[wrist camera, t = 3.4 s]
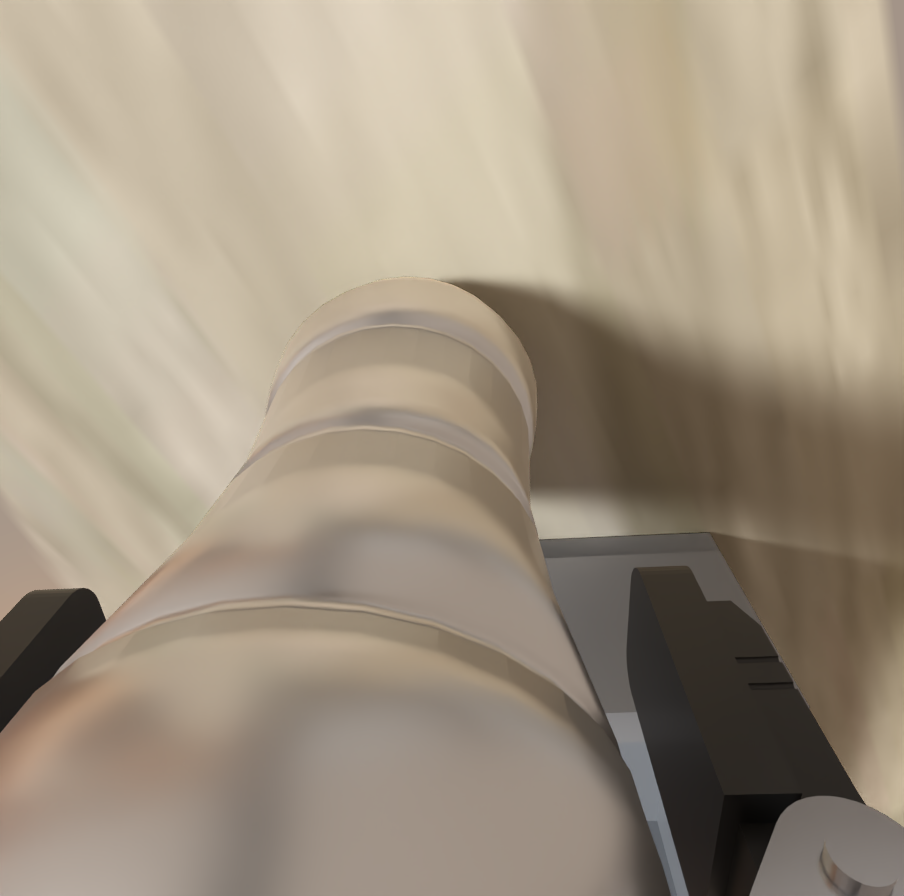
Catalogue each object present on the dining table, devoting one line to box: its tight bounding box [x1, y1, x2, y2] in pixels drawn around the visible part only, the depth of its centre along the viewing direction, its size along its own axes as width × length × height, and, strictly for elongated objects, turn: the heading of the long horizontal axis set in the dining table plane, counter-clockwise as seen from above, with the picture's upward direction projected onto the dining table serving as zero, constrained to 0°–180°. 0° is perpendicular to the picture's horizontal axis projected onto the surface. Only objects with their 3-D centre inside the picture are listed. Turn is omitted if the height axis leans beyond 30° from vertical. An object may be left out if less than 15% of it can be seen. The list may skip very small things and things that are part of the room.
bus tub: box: [539, 533, 810, 896], centre depth 22 cm, size 14×14×7 cm
